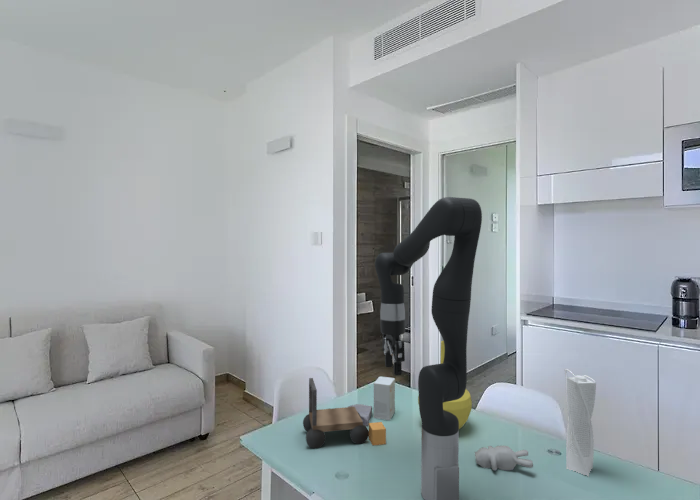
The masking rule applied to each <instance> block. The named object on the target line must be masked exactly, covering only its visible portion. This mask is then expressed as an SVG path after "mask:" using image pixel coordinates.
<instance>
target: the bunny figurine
mask: <svg viewBox="0 0 700 500" xmlns="http://www.w3.org/2000/svg"><path fill="white" fill-rule="evenodd" d="M527 456H529V451H528V450H527V449H521V450H517V451H514V450H513V449H512V448H510V446H508V445H497V446H494V447H493V446H492V445H488V446H487V447H484V446H483V447H480V448H478V450H477V451H474V457H475V463H476V465H479V466H480V467H481V468H483V469H490V468H491V469H492V470H493V471H497V469H499V470H501V471H513V470H514V468H515V467H516V466H517V465H519V466H523V467H526V468H528V469H532V468H534V464H533V460H531V459H528V458H527V459H526V458H520V457H527Z"/></svg>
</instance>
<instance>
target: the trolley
mask: <svg viewBox="0 0 700 500" xmlns="http://www.w3.org/2000/svg"><path fill="white" fill-rule="evenodd" d="M317 393H318V390H317V387H316V384H315V380H314V378H313V377H309V378H308V413H307V414H306V415H305V416H304V418H303V420H302V425H303V429H304V430H305V431H306V434H305V435H306V436H305V439H306V444H307V446H308V447H310V448H311V449H319V448H322V446H323V445H324V444H325V442H326V434H325V432H334V431H335V432H336V431H346V430H347V431H348V430H349V438H350V439H351V441H352V442H353V443H354V444H356V445H361V444H363V443H365V442H367V440H369V428H368V426H365V425H364V424H363V421H362V419H361V416H360V414H359V413H358V412H357V410H356V408H355V407H348V406H347V407H336V408H334V407H333V408H325V409H324V408H322V409H317V408H318V406H317V404H318V403H317V402H318V401H317V400H318V399H317V398H318V397H317V396H318V395H317Z"/></svg>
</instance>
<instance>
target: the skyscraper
mask: <svg viewBox="0 0 700 500" xmlns="http://www.w3.org/2000/svg"><path fill="white" fill-rule="evenodd" d="M567 372H569V373H570V374H571V375H572V376H568V373H567ZM564 374H565V397H566V398H565V399H566V402H565V403H566V411H567V417H568V419H567V424H566V425H567V426H566V427H567V428H566V445H565V447H566V449H565V450H566V451H565V452H566V453H565V454H566V455H565V456H566V460H565V461H566V470H567V469H569V470H568V471H571V470H573V471H572V472H574V471H576V472H575V473H577V472H578V473H577V474H579V473H581V474H580V475H582V474H583V476H585V475H587V476H588V477H587V476H586V477H587V478H589V477H590V474H591V472H590V471H592V470H593V469H594V455H595V454H594V453H595V452H594V451H595V449H594V447H595V445H594V444H595V443H594V440H595V439H594V430H593V424H592V420H591V419H592V416H593V412H594V407H595V400H596V390H597V382H596V380H595V379H594V378H592V377H591V376H588V375H587V374H583V375H579V374H578V375H575V374H574V372H572V371H571V370H570V369H569V368H565V369H564ZM591 469H592V470H591ZM589 473H590V474H589Z"/></svg>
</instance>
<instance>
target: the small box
mask: <svg viewBox="0 0 700 500" xmlns="http://www.w3.org/2000/svg"><path fill="white" fill-rule="evenodd" d="M395 400H396V378H394V377H387V376H378V378H376V380H375V381H374V382H373V418H374V419H378V420H379V419H380V420H385V421H391V419H392V418H393V415H394V414H395V412H396V401H395Z"/></svg>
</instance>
